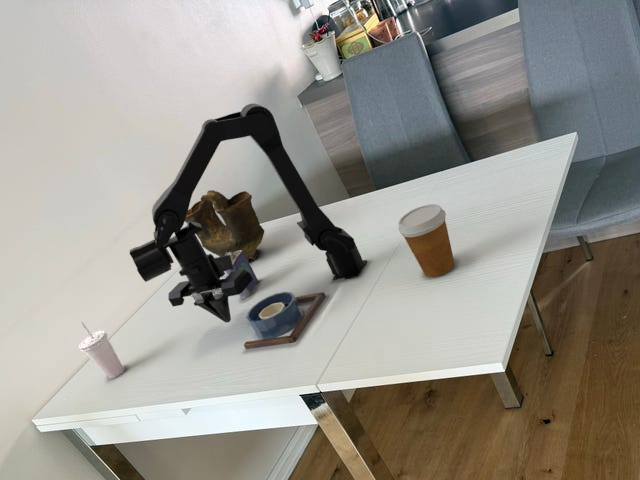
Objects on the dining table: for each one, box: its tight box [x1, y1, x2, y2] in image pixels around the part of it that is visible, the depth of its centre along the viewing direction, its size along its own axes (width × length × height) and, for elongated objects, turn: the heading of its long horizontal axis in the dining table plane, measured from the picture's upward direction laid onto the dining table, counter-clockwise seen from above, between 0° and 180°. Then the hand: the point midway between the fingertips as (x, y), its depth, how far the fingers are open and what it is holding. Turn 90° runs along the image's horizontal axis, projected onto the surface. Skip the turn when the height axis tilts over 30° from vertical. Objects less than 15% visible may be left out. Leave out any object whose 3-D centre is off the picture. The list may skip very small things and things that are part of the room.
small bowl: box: [259, 302, 286, 320], centre depth 141 cm, size 6×6×3 cm
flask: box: [225, 250, 260, 300], centre depth 162 cm, size 9×3×11 cm, turn 172°
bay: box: [243, 291, 326, 350], centre depth 142 cm, size 12×16×2 cm
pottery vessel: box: [184, 189, 265, 261], centre depth 179 cm, size 25×11×20 cm, turn 56°
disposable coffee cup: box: [397, 203, 456, 278], centre depth 133 cm, size 10×10×12 cm
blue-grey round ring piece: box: [246, 291, 304, 340], centre depth 141 cm, size 11×11×5 cm
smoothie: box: [78, 321, 125, 379], centre depth 151 cm, size 6×6×14 cm
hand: (228, 321), depth 147 cm, fingers closed
